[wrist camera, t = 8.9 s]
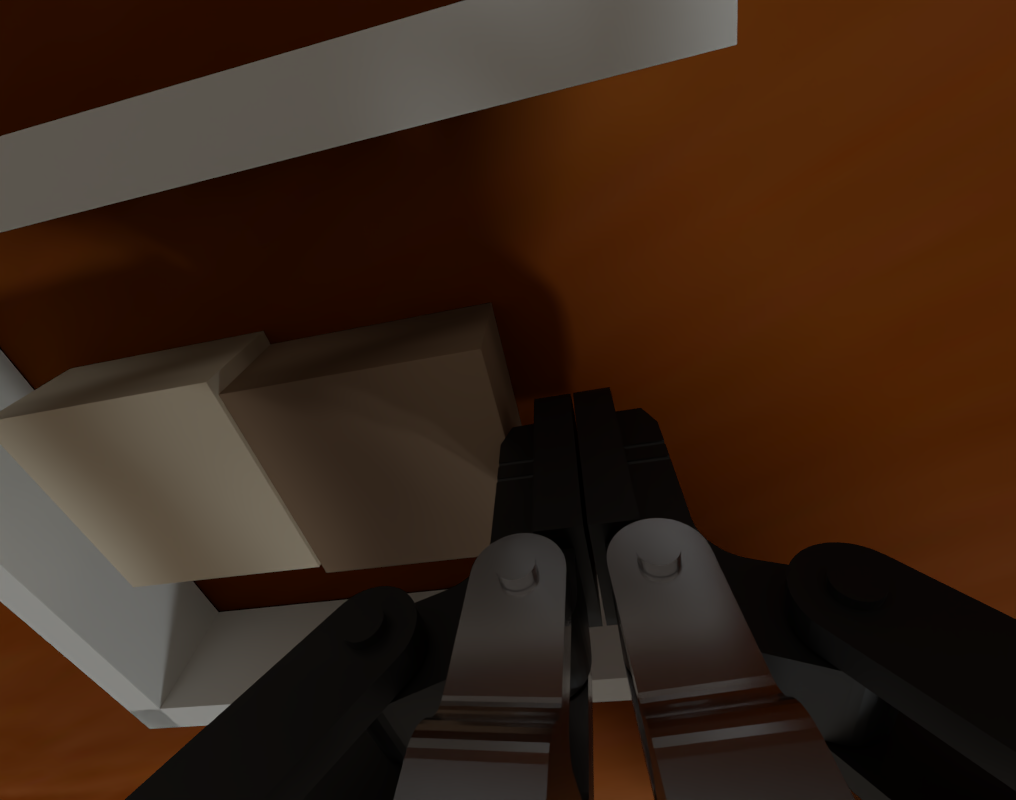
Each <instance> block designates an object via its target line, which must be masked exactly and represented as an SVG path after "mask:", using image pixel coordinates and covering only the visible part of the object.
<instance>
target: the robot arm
mask: <svg viewBox="0 0 1016 800" xmlns="http://www.w3.org/2000/svg"><path fill="white" fill-rule="evenodd" d="M573 395H574V405H575V414H576V421H575V415H574V409H573V404H572V399H571V394H564V395H558V396H551V397H545V398H539V399H535V400H534V424H531V425H524V426H518V427H512V429H511V430H510V432H509V433H508V435H507V436H506V438H505V439H504V440H503V442H502V443H501V446H500V456H499V467H498V475H497V481H498V482H497V484H496V494H495V503H494V513H493V522H492V531H491V541H490V545H489V546H488V547H486V548H485V549H484V550H483V551H482V552H481V553H480V555H479V556H478V557H477V559H476V560H475V562H474V564H473V566H472V569H471V572H470V576H469V577H468V578H467V579H466V580H464V581H463V582H461V583H460V584H458V585H456V586H454V587H452V588H450V589H448V590H445V591H443V592H440V593H438V594H435V595H433V596H430V597H428V598H425V599H423V600H420V601H418V602H415V603H414V601H413V600H412V598H411V597H410V596H409V595H408V594H407V593H406V592H405V591H403V590H401V589H399V588H396V587H390V586H381V587H375V588H371V589H368V590H365V591H362V592H360V593H358V594H356V595H354V596H353V597H351V598H350V599H348V600H347V601H346V602H344V603H343V604H342V605H341V606H340V607H338V608H337V609H336V610H335V611H334V612H333V613H332V614H331V615H330V616H328V617H327V618H326V619H325V620H324V621H323V622H322V623H321V624H320V625H318V626H317V627H316V628H315V629H314V630H313V631H312V632H311V633H310V634H308V635H307V636H306V637H305V638H304V639H303V640H302V641H301V642H300V643H298V644H297V645H296V646H295V647H294V648H293V649H292V650H291V651H290V652H288V653H287V654H286V655H285V656H284V657H283V658H282V659H281V660H280V661H278V662H277V663H276V664H275V665H274V666H273V667H272V668H271V669H269V670H268V671H267V672H266V673H265V674H264V675H263V676H262V677H261V678H259V679H258V680H257V681H256V682H255V683H254V684H253V685H252V686H251V687H249V688H248V689H247V690H246V691H245V692H244V693H243V694H242V695H241V696H239V697H238V698H237V699H236V700H235V701H234V702H233V703H232V704H231V705H229V706H228V707H227V708H226V709H225V710H224V711H223V712H222V713H221V714H219V715H218V716H217V717H216V718H215V719H214V720H213V721H212V722H211V723H209V724H208V725H207V726H206V727H205V728H204V729H203V730H202V731H201V732H199V733H198V734H197V735H196V736H195V737H194V738H193V739H192V740H191V741H189V742H188V743H187V744H186V745H185V746H184V747H183V748H182V749H181V750H179V751H178V752H177V753H176V754H175V755H174V756H173V757H172V758H171V759H169V760H168V761H167V762H166V763H165V764H164V765H163V766H162V767H161V768H159V769H158V770H157V771H156V772H155V773H154V774H153V775H152V776H151V777H149V778H148V779H147V780H146V781H145V782H144V783H143V784H142V785H141V786H139V787H138V788H137V789H136V790H135V791H134V792H133V793H132V794H131V795H129V796H128V797H127V798H126V799H125V800H594V771H593V702H592V672H591V665H592V654H591V643H590V632H589V627H599V626H603V624H602V616H601V607H600V599H599V590H598V582H599V587H600V592H601V597H602V603H603V608H604V613H605V619H606V624H607V626H608V625H618V630H619V636H620V642H621V648H622V654H623V659H624V665H625V671H626V677H627V681H628V686H629V690H630V695H631V699H632V703H633V708H634V712H635V717H636V721H637V726H638V730H639V735H640V739H641V743H642V748H643V752H644V757H645V761H646V766H647V770H648V775H649V779H650V783H651V788H652V792H653V797H654V800H855V799H854V797H853V795H852V793H851V791H853V792H854V793H855V794H856V795H857V796H859V797H860V798H861V799H862V800H1016V619H1014V618H1012V617H1010V616H1008V615H1006V614H1004V613H1002V612H1000V611H998V610H996V609H994V608H992V607H990V606H988V605H986V604H984V603H982V602H980V601H978V600H976V599H974V598H972V597H969V596H967V595H965V594H963V593H961V592H959V591H957V590H955V589H953V588H951V587H949V586H947V585H945V584H943V583H941V582H939V581H937V580H935V579H933V578H931V577H929V576H927V575H925V574H923V573H921V572H919V571H917V570H915V569H913V568H911V567H909V566H907V565H905V564H903V563H901V562H899V561H897V560H895V559H893V558H891V557H889V556H887V555H884V554H882V553H880V552H877V551H875V550H873V549H869V548H866V547H863V546H859V545H854V544H849V543H839V542H837V543H822V544H817V545H813V546H810V547H808V548H806V549H804V550H802V551H800V552H799V553H798V554H797V555H795V557H794V558H793V559H792V560H791V562H790V564H789V565H786V564H780V563H773V562H767V561H761V560H754V559H749V558H744V557H740V556H737V555H734V554H731V553H729V552H726V551H724V550H722V549H720V548H718V547H717V546H715V545H713V544H712V543H711V542H709V541H708V540H707V539H705V538H704V537H703V536H702V535H701V533H700V532H699V531H698V530H697V528H696V527H695V525H694V523H693V521H692V519H691V516H690V513H689V511H688V508H687V505H686V502H685V499H684V496H683V493H682V491H681V488H680V485H679V482H678V479H677V476H676V473H675V471H674V468H673V465H672V462H671V459H670V458H669V453H668V451H667V448H666V445H665V444H664V439H663V436H662V433H661V431H660V428H659V425H658V422H657V421H656V420H655V419H653V418H652V417H651V416H650V415H649V414H648V413H646V412H645V411H644V410H643V409H642V408H637V409H630V410H624V411H617V412H615V408H614V404H613V400H612V395H611V391H610V388H609V387H608V388H601V389H595V390H589V391H582V392H576V393H573ZM576 423H577V426H576ZM596 571H597V573H596ZM597 576H598V582H597ZM850 790H851V791H850Z"/></svg>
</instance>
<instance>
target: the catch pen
mask: <svg viewBox="0 0 1016 800" xmlns="http://www.w3.org/2000/svg"><path fill="white" fill-rule="evenodd" d="M737 1H738V0H464V1H461V2H457V3H454V4H451V5H447V6H444V7H440V8H437V9H433V10H430V11H427V12H423V13H420V14H416V15H413V16H410V17H406V18H403V19H399V20H396V21H392V22H389V23H386V24H382V25H379V26H375V27H372V28H368V29H365V30H362V31H358V32H355V33H351V34H348V35H345V36H341V37H338V38H334V39H331V40H327V41H324V42H321V43H317V44H314V45H310V46H307V47H304V48H300V49H297V50H293V51H290V52H286V53H283V54H280V55H276V56H273V57H269V58H266V59H262V60H259V61H256V62H252V63H249V64H245V65H242V66H239V67H235V68H232V69H228V70H225V71H221V72H218V73H215V74H211V75H208V76H204V77H201V78H198V79H194V80H191V81H187V82H184V83H180V84H177V85H174V86H170V87H167V88H163V89H160V90H157V91H153V92H150V93H146V94H143V95H139V96H136V97H133V98H129V99H126V100H122V101H119V102H115V103H112V104H109V105H105V106H102V107H98V108H95V109H92V110H88V111H85V112H81V113H78V114H74V115H71V116H68V117H64V118H61V119H57V120H54V121H51V122H47V123H44V124H40V125H37V126H33V127H30V128H27V129H23V130H20V131H16V132H13V133H9V134H6V135H3V136H0V232H4V231H8V230H12V229H16V228H20V227H24V226H28V225H32V224H36V223H40V222H43V221H47V220H51V219H55V218H59V217H63V216H67V215H71V214H75V213H79V212H83V211H87V210H90V209H94V208H98V207H102V206H106V205H110V204H114V203H118V202H122V201H126V200H130V199H134V198H138V197H141V196H145V195H149V194H153V193H157V192H161V191H165V190H169V189H173V188H177V187H181V186H185V185H188V184H192V183H196V182H200V181H204V180H208V179H212V178H216V177H220V176H224V175H228V174H232V173H235V172H239V171H243V170H247V169H251V168H255V167H259V166H263V165H267V164H271V163H275V162H279V161H282V160H286V159H290V158H294V157H298V156H302V155H306V154H310V153H314V152H318V151H322V150H326V149H330V148H333V147H337V146H341V145H345V144H349V143H353V142H357V141H361V140H365V139H369V138H373V137H377V136H380V135H384V134H388V133H392V132H396V131H400V130H404V129H408V128H412V127H416V126H420V125H424V124H427V123H431V122H435V121H439V120H443V119H447V118H451V117H455V116H459V115H463V114H467V113H471V112H475V111H478V110H482V109H486V108H490V107H494V106H498V105H502V104H506V103H510V102H514V101H518V100H522V99H525V98H529V97H533V96H537V95H541V94H545V93H549V92H553V91H557V90H561V89H565V88H569V87H572V86H576V85H580V84H584V83H588V82H592V81H596V80H600V79H604V78H608V77H612V76H616V75H619V74H623V73H627V72H631V71H635V70H639V69H643V68H647V67H651V66H655V65H659V64H663V63H667V62H670V61H674V60H678V59H682V58H686V57H690V56H694V55H698V54H702V53H706V52H710V51H714V50H717V49H721V48H725V47H729V46H733V45H737ZM32 391H34V389H33V388H32V387H31V386H30V384H29V383H28V382H27V381H26V380H25V378H24V377H23V376H22V375H21V374H20V372H19V371H18V370H17V369H16V368H15V366H14V365H13V364H12V363H11V362H10V360H9V359H8V358H7V357H6V356H5V354H4V353H3V352H2V351H1V350H0V411H1V410H3V409H4V408H6V407H8V406H9V405H11V404H13V403H14V402H16V401H18V400H19V399H21V398H23V397H24V396H26V395H27V394H29V393H31V392H32ZM597 582H598V576H597ZM446 590H448V589H446ZM598 590H599V599H600V607H601V616H602V624H603V626H599V627H589V632H590V643H591V654H592V665H591V672H592V702H607V701H624V700H632V699H631V695H630V690H629V686H628V681H627V677H626V671H625V665H624V659H623V654H622V648H621V642H620V636H619V630H618V625H608V626H607V624H606V619H605V613H604V608H603V603H602V597H601V592H600V587H599V582H598ZM443 591H445V590H436V591H426V592H416V593H407V594H408V595H409V596H410V597H411V598H412V600H413V601H414V603H415V602H418V601H420V600H423V599H425V598H428V597H430V596H433V595H435V594H438V593H440V592H443ZM347 600H348V599H346V600H335V601H325V602H315V603H305V604H295V605H285V606H275V607H265V608H255V609H245V610H235V611H225V612H218V611H217V610H216V608H215V607H214V606H213V605H212V604H211V602H210V601H209V600H208V599H207V598H206V596H205V595H204V594H203V593H202V592H201V590H200V589H199V588H198V587H197V586H196V584H195V583H194V582H193V581H186V582H177V583H168V584H159V585H150V586H141V587H133V586H132V585H131V584H130V583H129V582H128V581H127V580H126V579H125V578H124V577H123V576H122V575H121V574H120V572H119V571H118V570H117V569H116V568H115V567H114V566H113V565H112V564H111V563H110V562H109V561H108V560H107V558H106V557H105V556H104V555H103V554H102V553H101V552H100V551H99V550H98V549H97V548H96V547H95V546H94V544H93V543H92V542H91V541H90V540H89V539H88V538H87V537H86V536H85V535H84V534H83V533H82V532H81V530H80V529H79V528H78V527H77V526H76V525H75V524H74V523H73V522H72V521H71V520H70V519H69V518H68V517H67V515H66V514H65V513H64V512H63V511H62V510H61V509H60V508H59V507H58V506H57V505H56V504H55V503H54V501H53V500H52V499H51V498H50V497H49V496H48V495H47V494H46V493H45V492H44V491H43V490H42V489H41V487H40V486H39V485H38V484H37V483H36V482H35V481H34V480H33V479H32V478H31V477H30V476H29V475H28V473H27V472H26V471H25V470H24V469H23V468H22V467H21V466H20V465H19V464H18V463H17V462H16V461H15V459H14V458H13V457H12V456H11V455H10V454H9V453H8V452H7V451H6V450H5V449H4V448H3V447H2V445H1V444H0V601H1V602H2V603H3V604H4V605H5V606H7V607H8V608H9V609H10V610H11V611H12V612H14V613H15V614H16V615H17V616H18V617H19V618H21V619H22V620H23V621H24V622H25V623H26V624H28V625H29V626H30V627H31V628H32V629H33V630H35V631H36V632H37V633H38V634H39V635H41V636H42V637H43V638H44V639H45V640H46V641H48V642H49V643H50V644H51V645H52V646H53V647H55V648H56V649H57V650H58V651H59V652H60V653H62V654H63V655H64V656H65V657H66V658H67V659H69V660H70V661H71V662H72V663H73V664H74V665H76V666H77V667H78V668H79V669H80V670H82V671H83V672H84V673H85V674H86V675H87V676H89V677H90V678H91V679H92V680H93V681H94V682H96V683H97V684H98V685H99V686H100V687H101V688H103V689H104V690H105V691H106V692H107V693H108V694H110V695H111V696H112V697H113V698H114V699H115V700H117V701H118V702H119V703H120V704H121V705H123V706H124V707H125V708H126V709H127V710H128V711H130V712H131V713H132V714H133V715H134V716H135V717H137V718H138V719H139V720H140V721H141V722H142V723H144V724H145V725H146V726H147V727H148V728H149V729H154V728H171V727H187V726H204V725H208V724H209V723H211V722H212V721H213V720H214V719H215V718H216V717H217V716H218V715H219V714H221V713H222V712H223V711H224V710H225V709H226V708H227V707H228V706H229V705H231V704H232V703H233V702H234V701H235V700H236V699H237V698H238V697H239V696H241V695H242V694H243V693H244V692H245V691H246V690H247V689H248V688H249V687H251V686H252V685H253V684H254V683H255V682H256V681H257V680H258V679H259V678H261V677H262V676H263V675H264V674H265V673H266V672H267V671H268V670H269V669H271V668H272V667H273V666H274V665H275V664H276V663H277V662H278V661H280V660H281V659H282V658H283V657H284V656H285V655H286V654H287V653H288V652H290V651H291V650H292V649H293V648H294V647H295V646H296V645H297V644H298V643H300V642H301V641H302V640H303V639H304V638H305V637H306V636H307V635H308V634H310V633H311V632H312V631H313V630H314V629H315V628H316V627H317V626H318V625H320V624H321V623H322V622H323V621H324V620H325V619H326V618H327V617H328V616H330V615H331V614H332V613H333V612H334V611H335V610H336V609H337V608H338V607H340V606H341V605H342V604H343V603H344V602H346V601H347Z"/></svg>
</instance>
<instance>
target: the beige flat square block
mask: <svg viewBox="0 0 1016 800" xmlns="http://www.w3.org/2000/svg"><path fill="white" fill-rule="evenodd" d="M219 396H220V398H221V400H222V401H223V403H224V405H225V406H226V408H227V410H228V411H229V413H230V415H231V416H232V418H233V419H234V421H235V423H236V424H237V426H238V428H239V429H240V431H241V433H242V434H243V436H244V438H245V439H246V441H247V443H248V444H249V446H250V447H251V449H252V451H253V452H254V454H255V456H256V457H257V459H258V461H259V462H260V464H261V466H262V467H263V469H264V471H265V472H266V474H267V476H268V477H269V479H270V480H271V482H272V484H273V485H274V487H275V489H276V490H277V492H278V494H279V495H280V497H281V499H282V500H283V502H284V504H285V505H286V507H287V508H288V510H289V512H290V513H291V515H292V517H293V518H294V520H295V522H296V523H297V525H298V527H299V528H300V530H301V532H302V533H303V535H304V537H305V538H306V540H307V541H308V543H309V545H310V546H311V548H312V550H313V551H314V553H315V555H316V556H317V558H318V560H319V561H320V563H321V565H322V566H323V568H324V569H325V571H326V573H330V572H340V571H349V570H358V569H368V568H377V567H387V566H396V565H405V564H415V563H424V562H433V561H443V560H452V559H461V558H471V557H478V556H479V555H480V553H481V552H482V551H483V550H484V549H485V548H486V547H488V546H489V545H490V541H491V531H492V522H493V513H494V503H495V494H496V484H497V482H498V481H497V475H498V467H499V456H500V446H501V443H502V442H503V440H504V439H505V438H506V436H507V435H508V433H509V432H510V430H511V429H512V427H518V426H522V425H521V421H520V417H519V413H518V409H517V405H516V400H515V396H514V392H513V388H512V384H511V380H510V376H509V372H508V368H507V364H506V360H505V356H504V352H503V348H502V344H501V340H500V336H499V332H498V328H497V324H496V320H495V316H494V312H493V308H492V304H491V303H486V304H481V305H475V306H470V307H465V308H460V309H454V310H449V311H444V312H438V313H433V314H428V315H423V316H417V317H412V318H407V319H402V320H396V321H391V322H386V323H381V324H375V325H370V326H365V327H359V328H354V329H349V330H344V331H338V332H333V333H328V334H323V335H317V336H312V337H307V338H302V339H296V340H291V341H286V342H280V343H275V344H271V345H269V346H268V347H267V348H266V349H265V350H264V351H263V352H262V353H261V354H260V355H259V356H258V357H257V358H256V359H255V360H254V361H253V362H252V363H251V364H250V365H249V366H248V367H247V368H246V369H245V370H244V371H243V372H242V373H240V374H239V375H238V376H237V377H236V378H235V379H234V380H233V381H232V382H231V383H230V384H229V385H228V386H227V387H226V388H225V389H224V390H223V391H222V392H221V393H220V394H219Z"/></svg>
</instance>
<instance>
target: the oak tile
mask: <svg viewBox="0 0 1016 800" xmlns="http://www.w3.org/2000/svg"><path fill="white" fill-rule="evenodd" d="M269 345H271V344H270V342H269V341H268V339H267V337H266V335H265V333H264V331H260V332H255V333H250V334H245V335H240V336H235V337H230V338H224V339H219V340H214V341H209V342H204V343H199V344H194V345H189V346H184V347H178V348H173V349H168V350H163V351H158V352H153V353H148V354H143V355H138V356H132V357H127V358H122V359H117V360H112V361H107V362H102V363H97V364H92V365H86V366H81V367H76V368H71V369H69V370H67V371H65V372H64V373H62V374H61V375H59V376H57V377H56V378H54V379H52V380H51V381H49V382H47V383H46V384H44V385H42V386H41V387H39V388H37V389H36V390H34V391H32V392H31V393H29V394H27V395H26V396H24V397H23V398H21V399H19V400H18V401H16V402H14V403H13V404H11V405H9V406H8V407H6V408H4V409H3V410H1V411H0V444H1V445H2V447H3V448H4V449H5V450H6V451H7V452H8V453H9V454H10V455H11V456H12V457H13V458H14V459H15V461H16V462H17V463H18V464H19V465H20V466H21V467H22V468H23V469H24V470H25V471H26V472H27V473H28V475H29V476H30V477H31V478H32V479H33V480H34V481H35V482H36V483H37V484H38V485H39V486H40V487H41V489H42V490H43V491H44V492H45V493H46V494H47V495H48V496H49V497H50V498H51V499H52V500H53V501H54V503H55V504H56V505H57V506H58V507H59V508H60V509H61V510H62V511H63V512H64V513H65V514H66V515H67V517H68V518H69V519H70V520H71V521H72V522H73V523H74V524H75V525H76V526H77V527H78V528H79V529H80V530H81V532H82V533H83V534H84V535H85V536H86V537H87V538H88V539H89V540H90V541H91V542H92V543H93V544H94V546H95V547H96V548H97V549H98V550H99V551H100V552H101V553H102V554H103V555H104V556H105V557H106V558H107V560H108V561H109V562H110V563H111V564H112V565H113V566H114V567H115V568H116V569H117V570H118V571H119V572H120V574H121V575H122V576H123V577H124V578H125V579H126V580H127V581H128V582H129V583H130V584H131V585H132V586H133V587H141V586H150V585H159V584H168V583H177V582H186V581H196V580H205V579H214V578H223V577H232V576H241V575H250V574H259V573H268V572H277V571H286V570H296V569H305V568H314V567H320V564H321V563H320V561H319V560H318V558H317V556H316V555H315V553H314V551H313V550H312V548H311V546H310V545H309V543H308V541H307V540H306V538H305V537H304V535H303V533H302V532H301V530H300V528H299V527H298V525H297V523H296V522H295V520H294V518H293V517H292V515H291V513H290V512H289V510H288V508H287V507H286V505H285V504H284V502H283V500H282V499H281V497H280V495H279V494H278V492H277V490H276V489H275V487H274V485H273V484H272V482H271V480H270V479H269V477H268V476H267V474H266V472H265V471H264V469H263V467H262V466H261V464H260V462H259V461H258V459H257V457H256V456H255V454H254V452H253V451H252V449H251V447H250V446H249V444H248V443H247V441H246V439H245V438H244V436H243V434H242V433H241V431H240V429H239V428H238V426H237V424H236V423H235V421H234V419H233V418H232V416H231V415H230V413H229V411H228V410H227V408H226V406H225V405H224V403H223V401H222V400H221V398H220V396H219V394H220V393H221V392H222V391H223V390H224V389H225V388H226V387H227V386H228V385H229V384H230V383H231V382H232V381H233V380H234V379H235V378H236V377H237V376H238V375H239V374H240V373H242V372H243V371H244V370H245V369H246V368H247V367H248V366H249V365H250V364H251V363H252V362H253V361H254V360H255V359H256V358H257V357H258V356H259V355H260V354H261V353H262V352H263V351H264V350H265V349H266V348H267V347H268V346H269Z"/></svg>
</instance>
